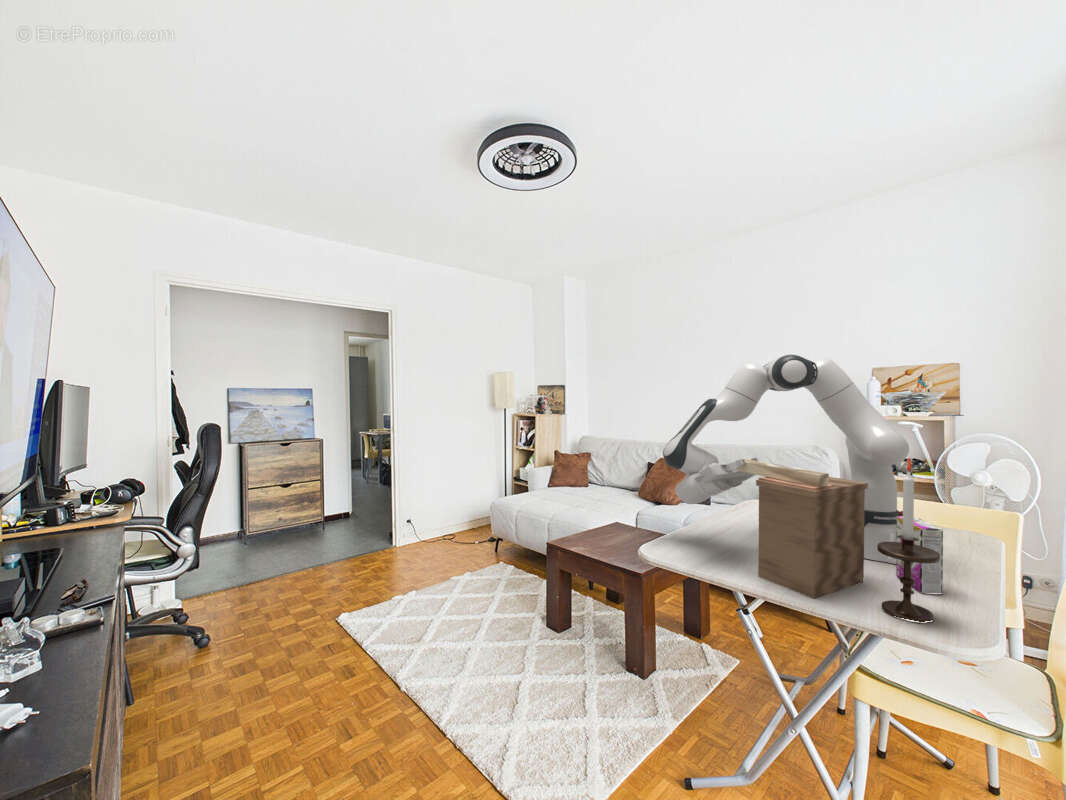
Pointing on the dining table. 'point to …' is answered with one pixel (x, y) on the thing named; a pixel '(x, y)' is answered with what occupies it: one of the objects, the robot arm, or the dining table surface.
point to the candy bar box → (924, 573)
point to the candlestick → (908, 558)
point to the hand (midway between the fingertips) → (750, 461)
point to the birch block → (786, 473)
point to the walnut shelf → (811, 535)
